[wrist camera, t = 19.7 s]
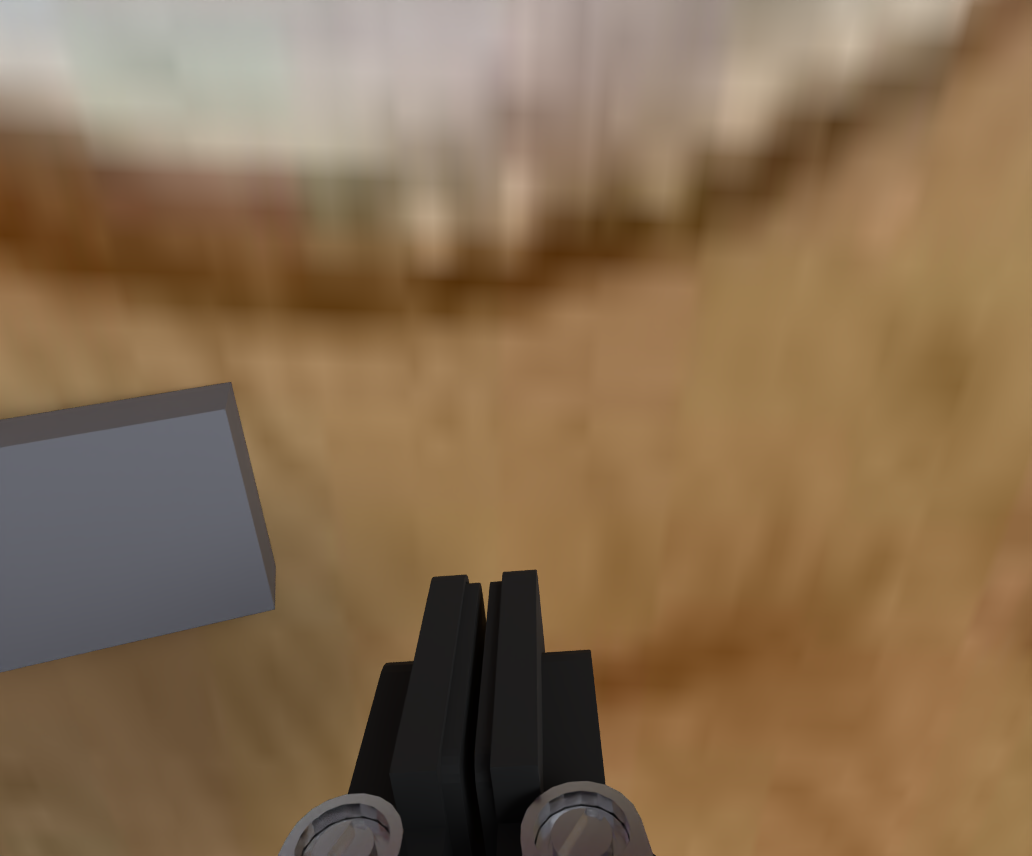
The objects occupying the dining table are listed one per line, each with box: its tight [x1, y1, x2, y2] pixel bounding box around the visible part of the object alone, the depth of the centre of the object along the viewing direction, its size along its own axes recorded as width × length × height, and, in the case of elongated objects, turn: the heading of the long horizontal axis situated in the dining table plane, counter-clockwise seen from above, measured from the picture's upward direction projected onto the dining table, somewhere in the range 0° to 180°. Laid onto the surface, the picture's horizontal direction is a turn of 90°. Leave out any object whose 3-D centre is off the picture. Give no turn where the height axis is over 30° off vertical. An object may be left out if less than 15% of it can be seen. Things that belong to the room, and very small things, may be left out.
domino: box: [0, 382, 276, 672], centre depth 17 cm, size 2×5×10 cm
